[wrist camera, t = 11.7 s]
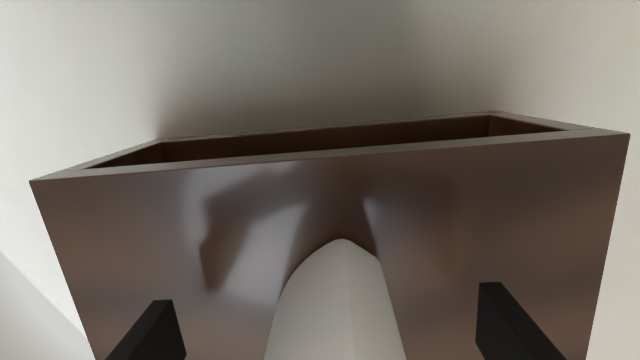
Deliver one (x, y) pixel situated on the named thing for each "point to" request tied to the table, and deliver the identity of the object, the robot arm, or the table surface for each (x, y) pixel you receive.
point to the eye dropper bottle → (335, 309)
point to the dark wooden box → (342, 226)
